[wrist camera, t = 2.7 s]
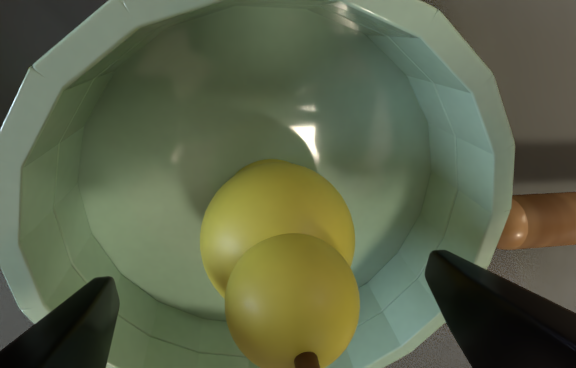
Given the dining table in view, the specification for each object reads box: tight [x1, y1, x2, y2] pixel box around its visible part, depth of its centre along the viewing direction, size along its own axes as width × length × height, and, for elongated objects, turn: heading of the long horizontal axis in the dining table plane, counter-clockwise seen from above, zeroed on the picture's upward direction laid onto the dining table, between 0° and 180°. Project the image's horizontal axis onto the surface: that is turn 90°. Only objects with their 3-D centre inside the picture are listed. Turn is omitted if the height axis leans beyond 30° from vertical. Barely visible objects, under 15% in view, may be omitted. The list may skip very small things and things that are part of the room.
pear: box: [200, 159, 360, 368], centre depth 9 cm, size 5×5×8 cm
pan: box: [0, 0, 515, 368], centre depth 12 cm, size 15×15×4 cm
